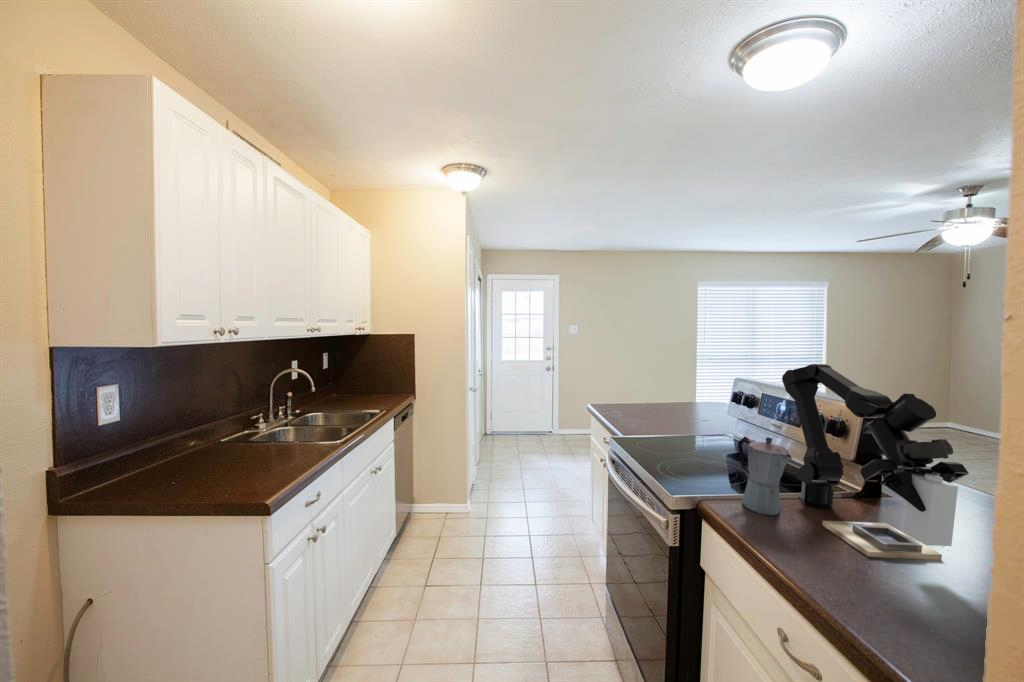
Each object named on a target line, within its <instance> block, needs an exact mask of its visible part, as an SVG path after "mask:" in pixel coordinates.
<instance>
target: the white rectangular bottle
mask: <svg viewBox="0 0 1024 682" xmlns="http://www.w3.org/2000/svg"><path fill="white" fill-rule="evenodd" d="M912 484H913V486H914V487H915V489H916V491H917V493H918V494H919V496H920V498H921V500H922V502H923V504H924V506H925V508H926V511H924V512H921V511H919V510H918V509H917V508H915V507H914V506H913V505H911V504H910V503H909V502H908V501H906V509H905V518H904V519H905V520H904V530H903V533H904V534H906V535H908V536H910V537H912V538H913V539H915V540H917V541H919V542H920V543H922V544H924V545H926V546H933V547H935V546H937V547H939V546H940V547H952V545H953V544H952V543H953V535H954V525H955V516H956V509H957V500H958V492H959V491H958V490H959V486H958V485H956V484H953V483H952V482H951V483H948V482H946V481H943V478H942V477H940V476H937V475H933V474H925V476H912Z"/></svg>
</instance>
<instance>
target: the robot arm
mask: <svg viewBox="0 0 1024 682" xmlns="http://www.w3.org/2000/svg"><path fill="white" fill-rule="evenodd" d="M781 381H782V384H783V386H784V389H785V392H786V393H788V395H789V396H790V397H791V398H792V399H793V400H794V403H795V407H796V410H797V414H798V417H799V421H800V425H801V430H802V433H803V436H804V441H805V445H806V451H805V453H804V456H803V459H802V460H803V465H802V466H801V467H800V468H798V469H796V470H795V476H796V479H797V480H800V481H801V491H800V492H801V493H800V495H801V497H800V498H799V499H800V500H801V502H802V503H803V504H804V505H805V506H807V507H814V508H819V509H827V510H833V509H834V508H833V504H834V502H833V501H834V490H833V486H838V485H839V484H840V481H841V479H842V477H843V475H844V468H845V466H844V464H843V463H842V458H841V454H840V453H839V452H837V451H833V450H832V449H831V448H830V447H829V445H828V441H827V437H826V434H825V430H824V427H823V423H822V419H821V416H820V413H819V409H818V406H817V405H818V404H817V402H816V401H817V400H816V398H815V397H816V395H817V393H818V390H819V384H821V385H823V386H824V387H826V388H827V389H829V390H830V391H831V392H833V393H834V394H836V395H837V396H838V397H840V398H841V399H842V400H843V401H844V404H845V407H846V408H847V409H848V410H849V411H850V412H851V413H852V414H853V415H854V416H855V417H857V418H860V419H861V418H862V419H863V418H865V419H873V420H871V421H865V422H864V425H863V427H862V429H861V433H862V434H871V435H872V437H873V438H874V440H875V441H876V443H877V444H878V446H879V448H880V449H879V450H877V453H878V455H879V456H881V457H882V456H884V457H885V458H886V459H882V458H873V459H872V460H871V461H869V462H867V463H866V464H865V465H863V466H861V468H860V475H861V476H862V478H863V479H864V481H865V482H879V480H880V478H881V476H882V479H883V480H882V481H880V482H879V484H880V485H881V486H884V487H887V488H888V489H890V490H891V491H892V492H894V493H895V494H896V495H898V496H899V497H901V498H902V499H903V500H905V502H907V501H908V502H909V503H910V504H911V505H913V506H914V507H915V508H917V509H918V510H919V511H921V512H924V511H926V508H925V506H924V504H923V502H922V500H921V498H920V496H919V494H918V493H917V491H916V489H915V487H914V486H913V484H912V476H925V474H933V475H937V476H940V477H942V478H943V481H946V482H948V483H951V484H952V483H953V482H956V481H958V480H959V479H962V478H963V477H966V476H967V475H969V474H970V473H969V471H968V470H967V468H966V467H965V466H964V464H963V463H960V462H957V461H955V462H954V461H939V462H937V463H936V464H934V465H932V466H927V465H930V464H933V463H934V462H935V461H934V459H935V460H936V459H949V458H950V457H949V455H953V454H954V448H953V446H952V445H951V443H949V441H948V440H947V439H946V438H944V439H942V438H937V439H931V441H917V440H911V439H910V437H909V436H908V434H907V433H913V432H915V431H916V430H918V429H919V428H921V427H923V426H924V425H926V424H927V423H928V422H930V421H931V420H933V419H935V418H936V416H937V412H936V409H935V408H934V407H933V406H932V405H931V404H929V403H928V402H926V401H925V400H923V399H921V398H918V397H917V396H916V395H915V394H914V393H906V392H905V393H903V394H901V395H900V396H899V398H898V399H896V400H895V401H892V400H891V398H890V397H889V396H887V395H886V394H883V393H880V392H878V391H875V390H871V389H869V388H868V389H867V388H864V387H861V386H860V385H858V384H857V383H855V382H853V381H851V380H850V379H848V378H847V377H845V375H842V374H841V373H839V372H838V371H836V370H834V368H832V366H831V365H828V364H824V363H812V364H808V365H806V366H803V367H798V368H795V369H787V370H786V371H785V373H783V375H782V376H781Z"/></svg>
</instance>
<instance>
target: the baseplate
mask: <svg viewBox="0 0 1024 682" xmlns="http://www.w3.org/2000/svg"><path fill="white" fill-rule="evenodd" d="M821 526H823V527H824V528H825V529H827V530H829V531H830V532H832V533H833V534H834V535H836V536H837V537H839V538H840V539H842V540H843V541H844V542H846V543H847V544H848V545H850V546H852V547H853V548H854V549H856V550H857V551H859V552H861V554H864V555H865V556H866V557H868V558H887V559H905V560H906V559H909V560H913V559H914V560H930V561H942V558H943V557H942V556H943V554H942V553H940V552H938V551H937V550H935V549H932V548H931V547H930V546H928V545H925V544H924V543H922V542H920V541H918V540H916V539H915V538H913V537H911V536H909V535H908V534H906V533H904V531H901V530H899V529H898V528H895V527H894V526H892V525H890V524H889V523H887V522H871V521H870V522H865V521H847V520H846V521H843V520H822V523H821Z"/></svg>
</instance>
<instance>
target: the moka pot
mask: <svg viewBox="0 0 1024 682" xmlns="http://www.w3.org/2000/svg"><path fill="white" fill-rule="evenodd" d="M743 444H746V446H747V466H746V462H745V457H744V456H745V455H744V448H743ZM737 448H738V452H739V458H740V464H741V468H742V469H743V470H744V471H746V472H749V473H748V477H749V478H748V479H747V482H746V486H745V489H744V493H743V495H742V496H743V497H742V501H741V504H742V505H743V506H744V507H745V508H746V509H748V510H749V511H752V512H753V513H757V514H760V515H765V516H776V515H778V514H779V513H780V510H781V507H780V505H781V503H780V484H781V483H780V482H781V478H782V476H783V474H784V471H785V467H786V465H787V464H788V463H789V461H790V460H793V455H791V454H790V451H789V449H787V448H785V447H783V446H781V445H779V444H774V443H773V438H771V437H770V436H769V437H765V441H756V440H755V439H750V438H749V437H746V436H743V437H742V438H741V439H740V440H738V442H737Z"/></svg>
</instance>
